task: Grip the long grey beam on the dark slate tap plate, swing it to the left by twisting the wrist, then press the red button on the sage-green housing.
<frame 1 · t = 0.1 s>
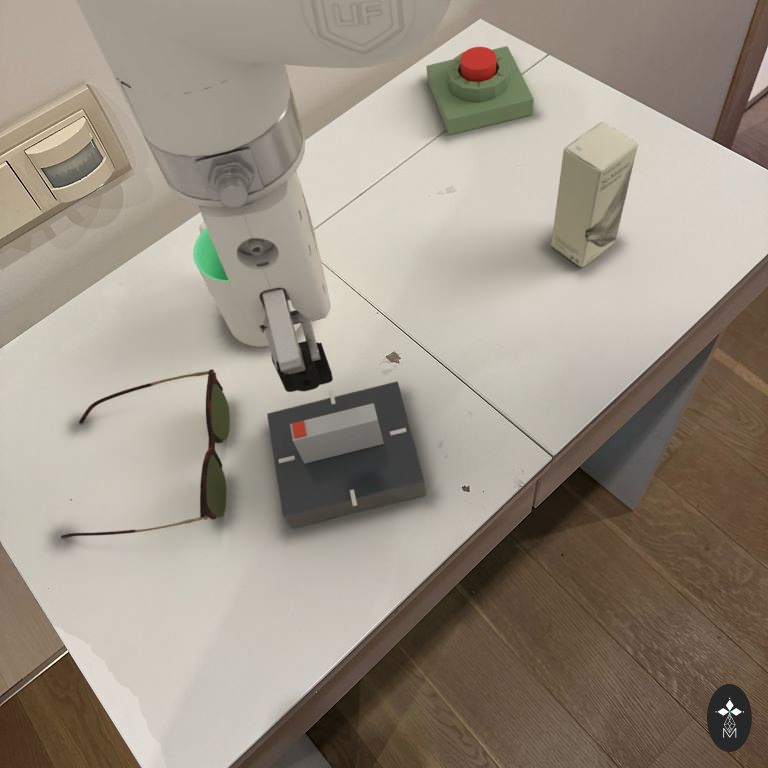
hand: (298, 325, 52), 18 cm above the table, tool pointing down, fingers open, 9 cm apart
sunglasses: (149, 470, 69), on the table
button box: (478, 97, 88), on the table
mug: (255, 303, 77), on the table
box: (583, 245, 76), on the table
button: (478, 64, 84), point 4 cm above the table, slide at 0.1 cm
long grey beam: (337, 433, 62), point 5 cm above the table, hinge at 0.0°
tap plate: (348, 460, 67), on the table
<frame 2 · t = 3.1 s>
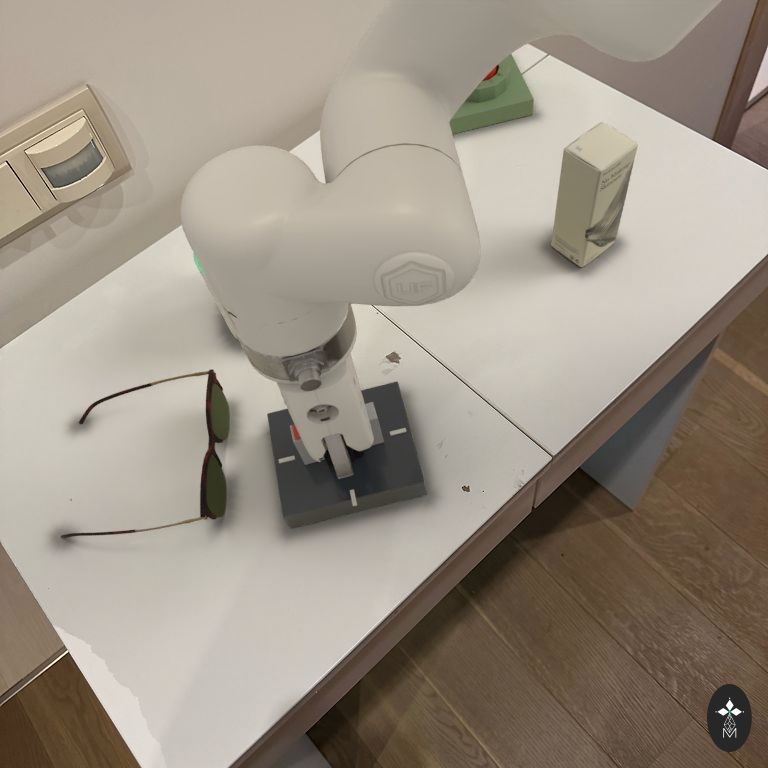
hand: (342, 445, 64), 3 cm above the table, tool pointing down, fingers closed on long grey beam
long grey beam: (337, 433, 62), point 5 cm above the table, hinge at 2.6°, touching gripper
everything else where it was.
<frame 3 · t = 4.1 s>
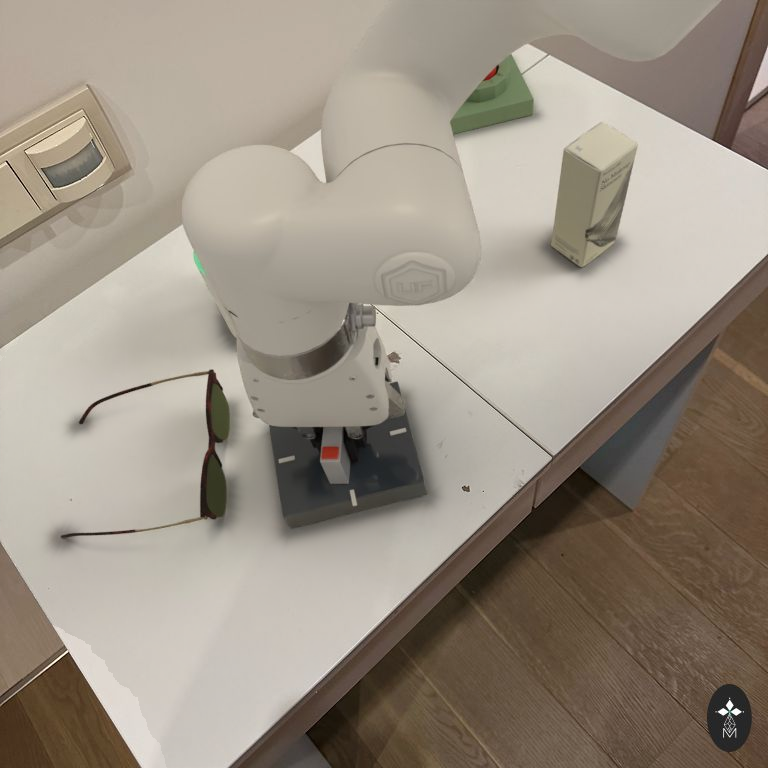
hand: (342, 444, 64), 3 cm above the table, tool pointing down, fingers closed on long grey beam
long grey beam: (337, 433, 62), point 5 cm above the table, hinge at 75.0°, touching gripper
everything else where it was.
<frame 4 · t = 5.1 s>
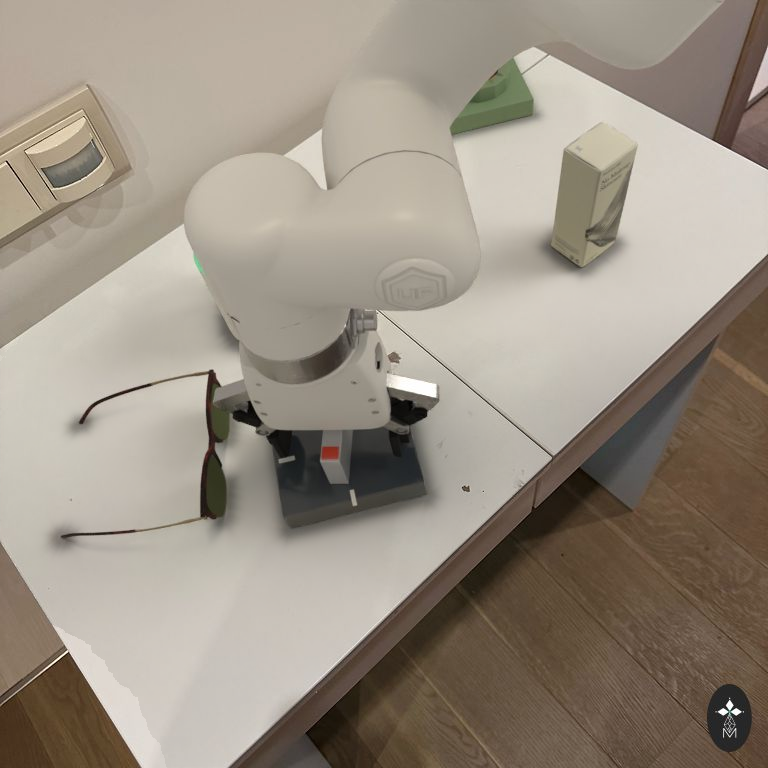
hand: (342, 441, 63), 4 cm above the table, tool pointing down, fingers open, 9 cm apart
long grey beam: (337, 433, 62), point 5 cm above the table, hinge at 74.9°
everything else where it was.
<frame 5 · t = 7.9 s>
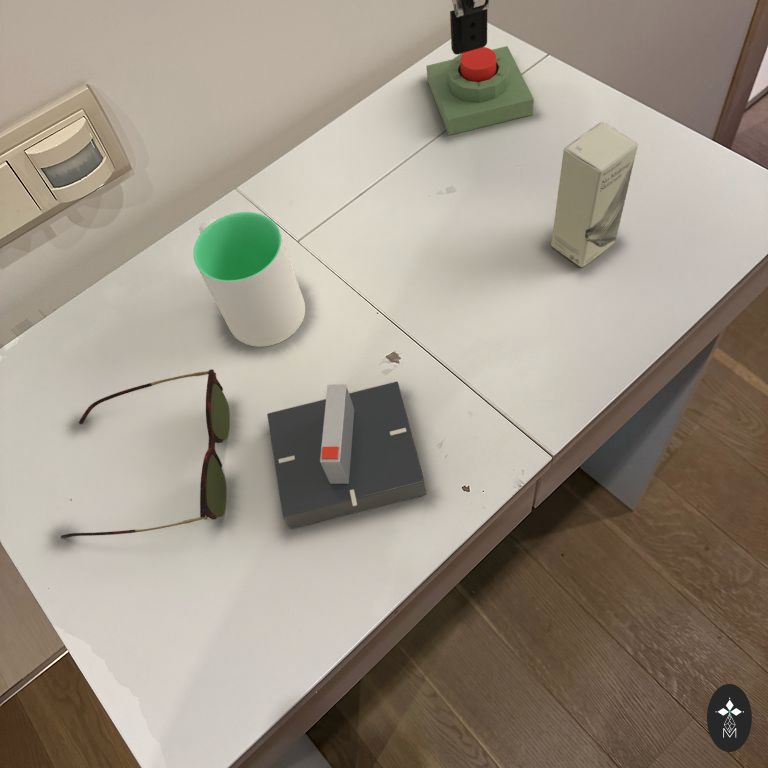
hand: (452, 18, 70), 17 cm above the table, tool pointing down, fingers open, 9 cm apart
nothing on the table moved.
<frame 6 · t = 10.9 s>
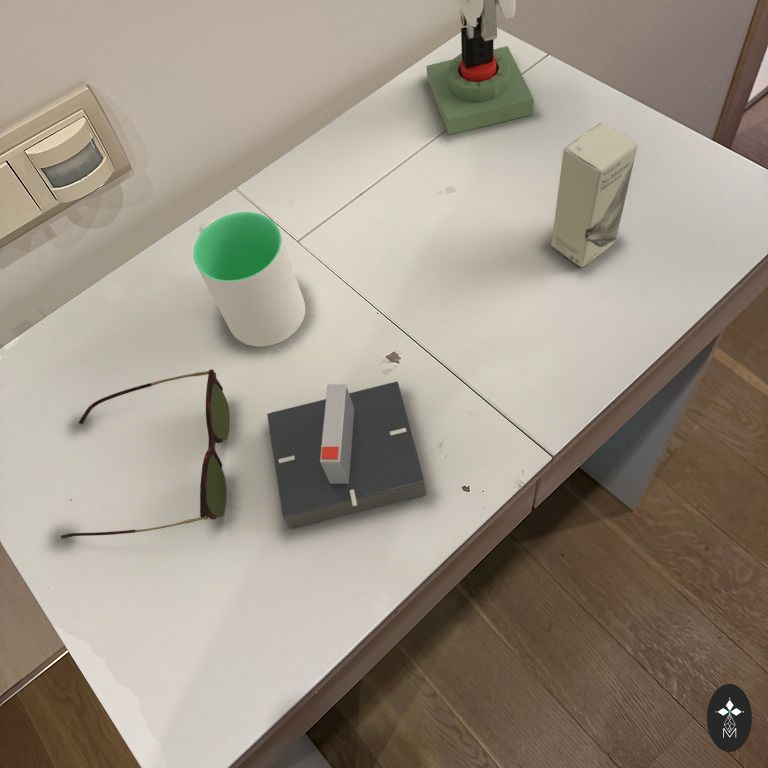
hand: (477, 60, 84), 5 cm above the table, tool pointing down, fingers closed
button: (478, 68, 85), point 4 cm above the table, slide at -0.4 cm, touching gripper
everything else where it was.
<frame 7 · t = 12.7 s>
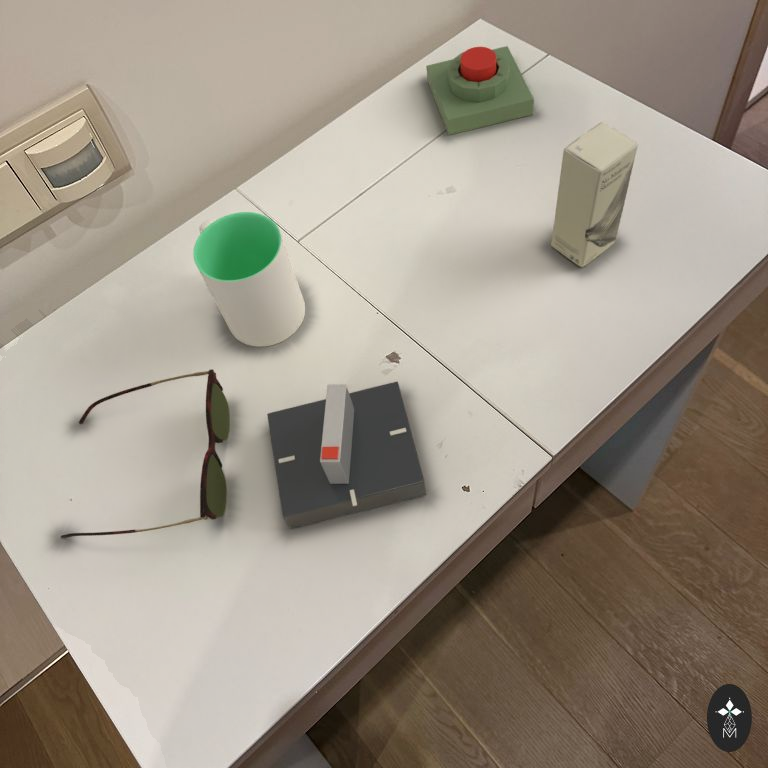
button: (478, 64, 84), point 4 cm above the table, slide at 0.1 cm
everything else where it was.
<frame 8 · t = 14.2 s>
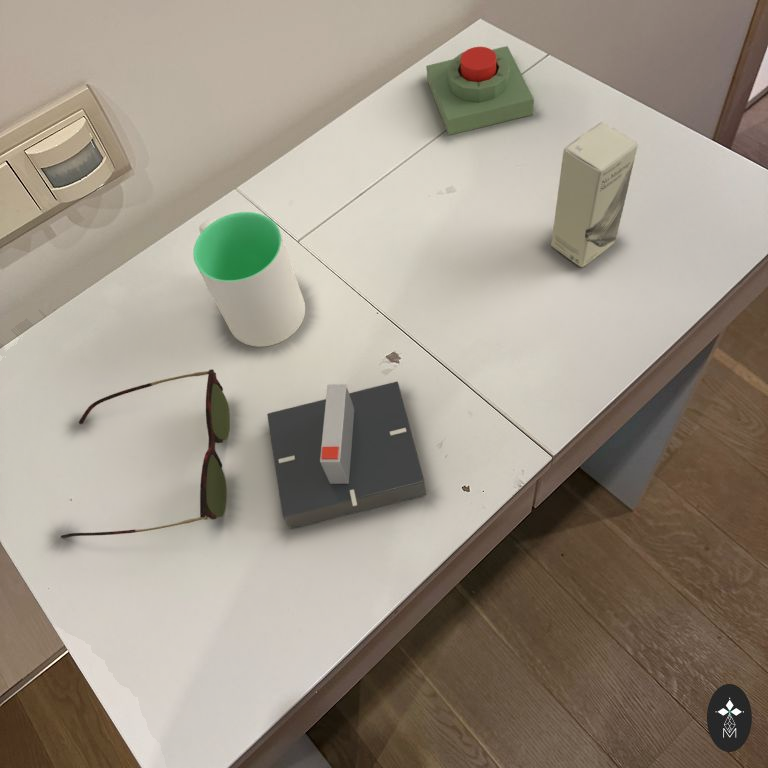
nothing on the table moved.
at the end: long grey beam at +75° (first picture: +0°); button pushed in 1.0 cm at the most during the clip, back to where it started at the end; button slide at 0.1 cm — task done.
